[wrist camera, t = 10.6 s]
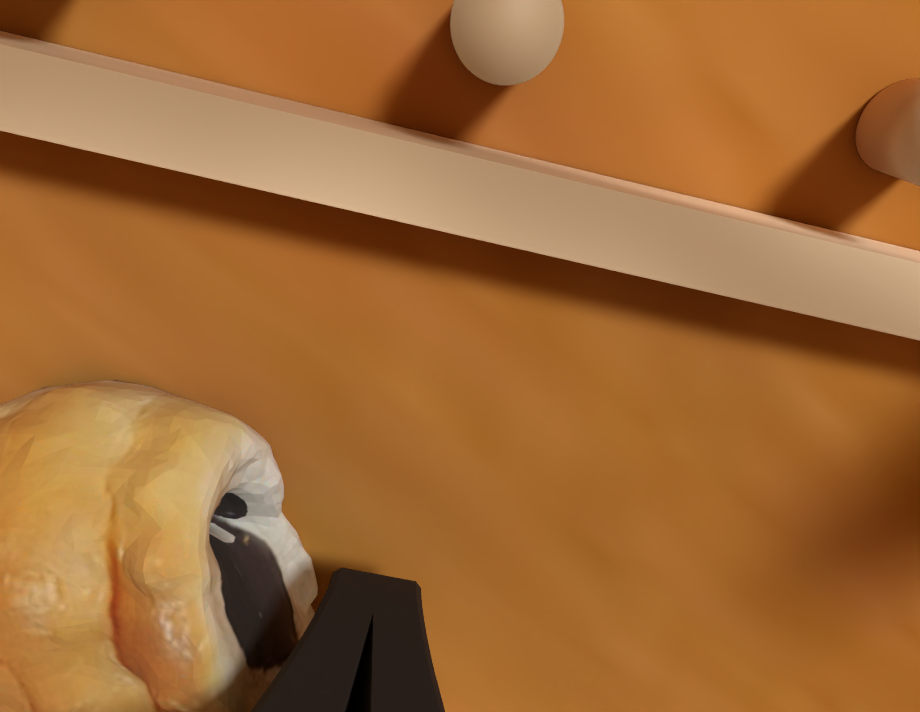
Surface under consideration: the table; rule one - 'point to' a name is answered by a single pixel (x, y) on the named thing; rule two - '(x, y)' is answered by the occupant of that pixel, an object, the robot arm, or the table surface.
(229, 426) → the pastry
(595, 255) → the lane
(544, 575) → the table surface
